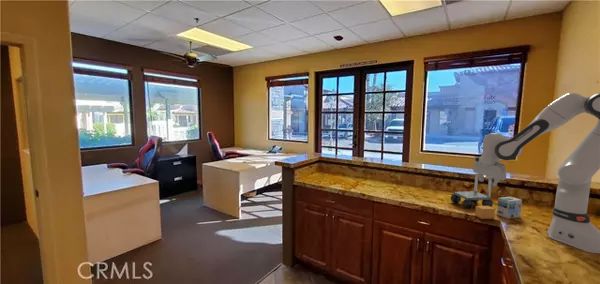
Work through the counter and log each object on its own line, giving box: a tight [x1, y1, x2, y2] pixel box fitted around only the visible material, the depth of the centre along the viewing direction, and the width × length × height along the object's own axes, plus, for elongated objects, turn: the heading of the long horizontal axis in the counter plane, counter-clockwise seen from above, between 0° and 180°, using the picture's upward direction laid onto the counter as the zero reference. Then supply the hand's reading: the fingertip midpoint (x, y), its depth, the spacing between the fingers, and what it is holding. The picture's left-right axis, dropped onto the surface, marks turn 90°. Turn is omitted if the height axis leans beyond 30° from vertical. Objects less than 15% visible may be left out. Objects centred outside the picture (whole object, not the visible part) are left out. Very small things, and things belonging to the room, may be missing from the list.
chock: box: [474, 205, 496, 220], centre depth 155 cm, size 5×8×6 cm, turn 97°
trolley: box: [450, 173, 494, 210], centre depth 174 cm, size 13×20×20 cm, turn 97°
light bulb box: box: [496, 196, 523, 219], centre depth 157 cm, size 11×7×11 cm, turn 105°
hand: (487, 183), depth 154 cm, fingers open, 8 cm apart
